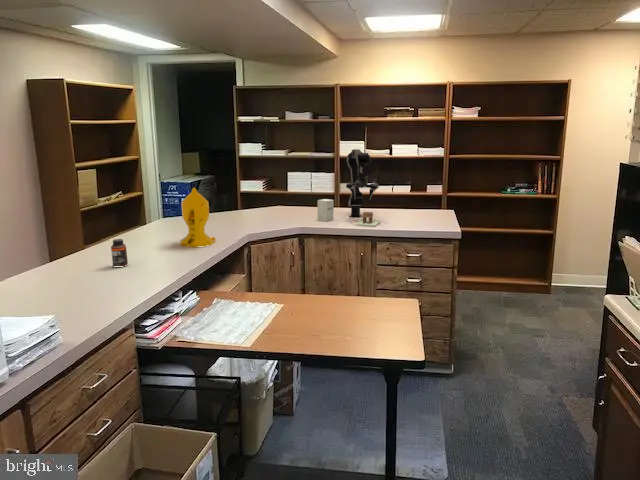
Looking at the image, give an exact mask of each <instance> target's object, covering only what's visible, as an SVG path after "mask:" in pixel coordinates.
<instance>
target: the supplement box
mask: <svg viewBox="0 0 640 480" xmlns="http://www.w3.org/2000/svg"><path fill="white" fill-rule="evenodd" d="M320 220H321V221H320ZM317 221H320V222H326V221H327V222H329V221H334V199H329V198H323V199H318V200H317Z"/></svg>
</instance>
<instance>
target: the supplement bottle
mask: <svg viewBox="0 0 640 480" xmlns="http://www.w3.org/2000/svg"><path fill="white" fill-rule="evenodd" d="M110 250H111V258H112V259H111V261H112V267H113V266H125V265H127V264H129V263H128V262H129V261H128V255H127V254H128V253H127V252H128V251H127V246H126V244H125V243H124V239H122V238H116V239H113V240H112V245H111V247H110ZM127 266H128V265H127ZM125 267H126V266H125Z"/></svg>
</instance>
